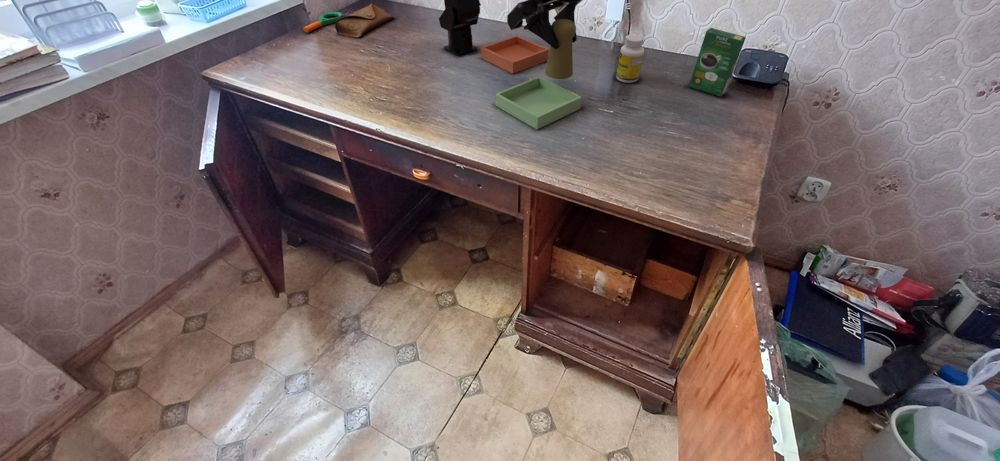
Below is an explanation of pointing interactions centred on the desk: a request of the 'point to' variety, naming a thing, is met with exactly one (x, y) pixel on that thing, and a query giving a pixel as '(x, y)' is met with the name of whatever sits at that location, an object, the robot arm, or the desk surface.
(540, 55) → the terracotta tray
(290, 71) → the desk surface
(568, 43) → the olive pepper mill
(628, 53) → the supplement bottle
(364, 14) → the sunglasses case
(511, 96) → the sage tray
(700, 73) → the coffee box
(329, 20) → the magnifying glass
